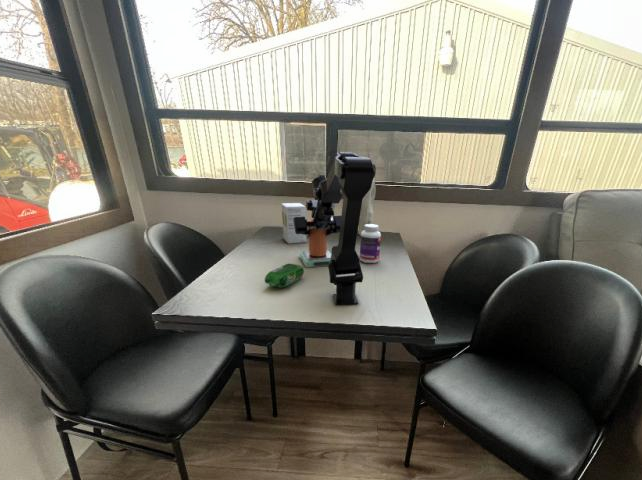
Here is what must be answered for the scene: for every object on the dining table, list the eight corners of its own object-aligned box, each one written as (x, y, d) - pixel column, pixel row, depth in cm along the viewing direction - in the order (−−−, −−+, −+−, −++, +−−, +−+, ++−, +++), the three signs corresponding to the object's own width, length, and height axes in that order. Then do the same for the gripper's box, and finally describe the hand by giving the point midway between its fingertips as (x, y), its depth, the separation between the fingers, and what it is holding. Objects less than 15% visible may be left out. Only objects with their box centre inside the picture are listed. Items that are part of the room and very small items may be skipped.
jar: (313, 257, 113) (312, 222, 107) (306, 252, 118) (304, 219, 112) (329, 254, 116) (329, 221, 110) (321, 250, 121) (320, 217, 115)
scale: (336, 265, 115) (336, 258, 114) (306, 267, 111) (306, 260, 110) (328, 255, 125) (328, 248, 124) (300, 257, 122) (299, 250, 120)
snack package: (260, 289, 93) (259, 274, 91) (291, 273, 106) (290, 259, 103) (278, 294, 91) (277, 279, 88) (307, 277, 103) (307, 263, 101)
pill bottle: (379, 264, 118) (382, 228, 111) (359, 263, 117) (361, 227, 111) (378, 257, 125) (380, 223, 118) (359, 257, 125) (360, 222, 118)
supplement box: (283, 238, 145) (280, 203, 138) (301, 237, 149) (300, 202, 141) (288, 243, 138) (285, 206, 130) (307, 242, 141) (306, 205, 134)
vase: (366, 232, 163) (369, 173, 149) (376, 235, 157) (381, 174, 143) (354, 234, 158) (356, 173, 144) (364, 238, 152) (368, 175, 138)
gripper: (344, 192, 106) (335, 217, 120) (292, 192, 100) (289, 219, 114) (351, 219, 103) (340, 241, 117) (297, 221, 97) (293, 244, 111)
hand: (316, 236), depth 115 cm, fingers closed on jar, 7 cm apart
